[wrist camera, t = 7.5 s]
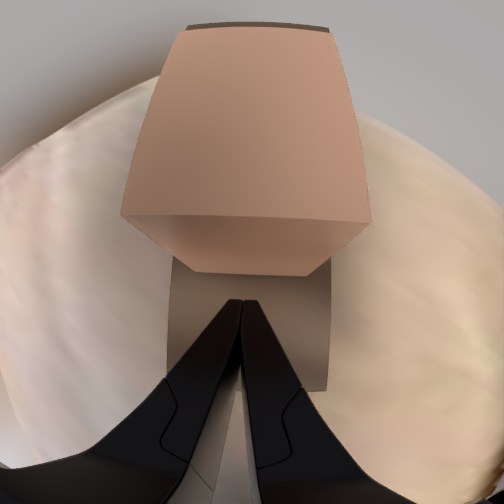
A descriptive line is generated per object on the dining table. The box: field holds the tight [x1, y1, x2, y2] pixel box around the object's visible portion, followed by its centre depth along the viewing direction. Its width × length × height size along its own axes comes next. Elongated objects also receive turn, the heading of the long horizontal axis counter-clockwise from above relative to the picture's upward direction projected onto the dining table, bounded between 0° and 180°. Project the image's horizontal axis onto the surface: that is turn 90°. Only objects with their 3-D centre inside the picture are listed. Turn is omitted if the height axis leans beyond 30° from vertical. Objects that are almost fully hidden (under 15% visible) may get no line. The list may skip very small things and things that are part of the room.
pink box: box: [120, 27, 371, 276], centre depth 11 cm, size 8×6×9 cm
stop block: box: [167, 22, 331, 392], centre depth 12 cm, size 18×9×9 cm, turn 178°
